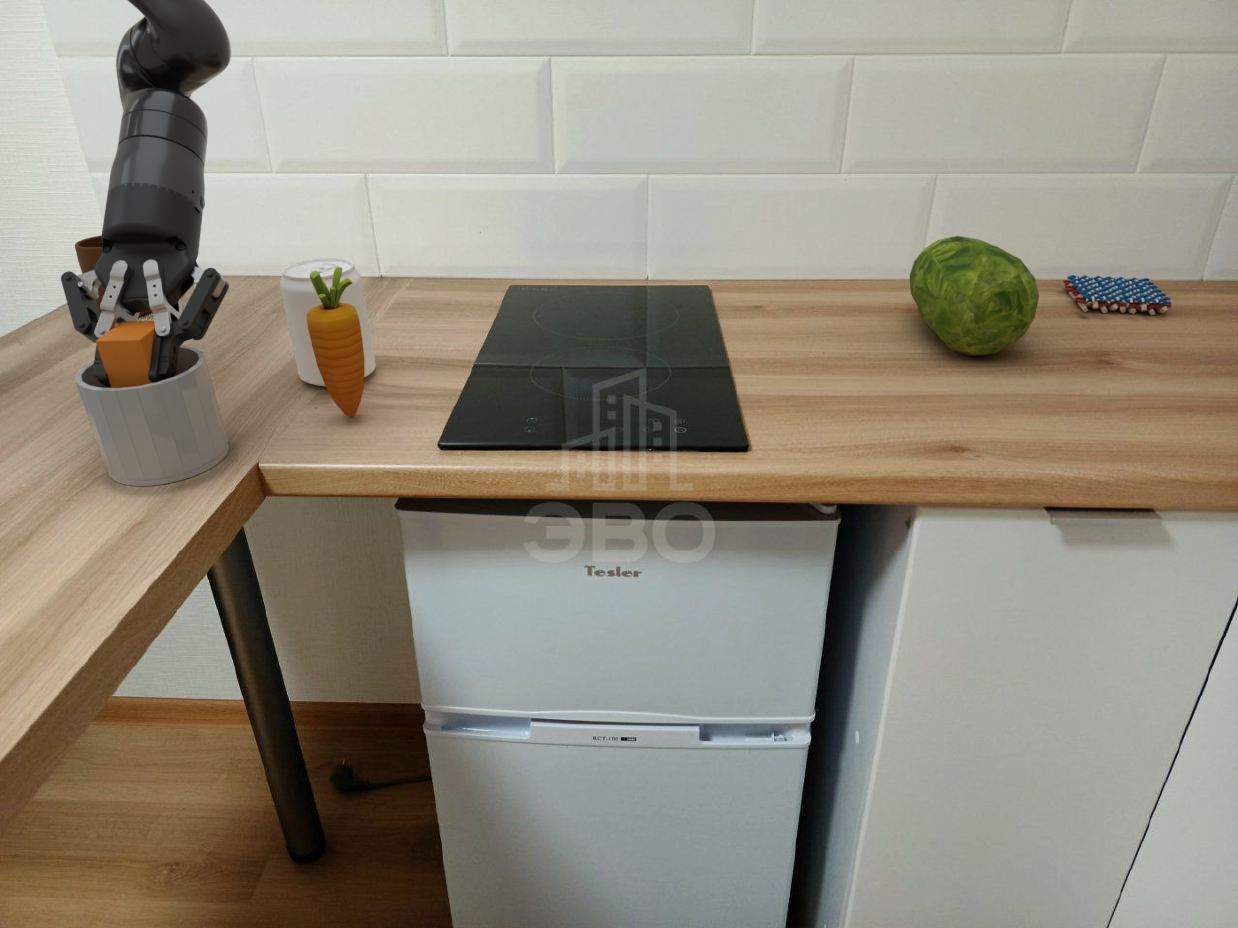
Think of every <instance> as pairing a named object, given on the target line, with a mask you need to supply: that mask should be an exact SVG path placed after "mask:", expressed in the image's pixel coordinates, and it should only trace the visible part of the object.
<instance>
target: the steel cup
mask: <svg viewBox="0 0 1238 928" xmlns="http://www.w3.org/2000/svg"><path fill="white" fill-rule="evenodd" d="M93 365H94V360H93V361H91V362H89V363H88V364H86V365H85V366H83V367H81V368H79V370H78V371H77V373H76V374H75V375H74V382H75V386H76V388H77V391H78V394H79V397H80V399H81V402H82V405H83V407H84V408H83V409H84V411H85V415H86V416H87V419H88V422H89V425H90V428H91V430H92V433H93V436H94V439H95V442H96V444H97V447H98V451H99V452H100V456H101V459H102V461H103V464H104V467H105V470H106V471H107V475H108V476H109V477H110V479H112V480H113V481H114V482H116V483H118V484H119V483H120V484H122V485H126V486H132V487H151V486H152V487H153V486H161V485H167V484H171V483H176V482H177V483H178V482H180V481H184V480H187V479H189V478H193V477H195V476H198V475H201V474H202V473H204V472H205V473H206V472H207V471H208V470H211V469H212V468H214V467H215V466H217V465H218V464H220V462H222V461H223V460H224V459H225V458H226V456H227V455H228V453H229V450H230V445H229V439H228V435H227V433H226V428H225V425H224V421H223V416H222V414H221V410H220V407H219V406H220V405H219V401H218V399H217V394H216V392H215V391H216V390H215V387H214V383H213V380H212V376H211V373H210V369H209V365H208V362H207V358H206V355H205V353H204V351H203V350H201V349H199V348H196V347H195V346H190V345H189V346H188V345H184V344H182V345H181V346H180V347H179V353H178V363H177V368H178V371H179V375H177V376H175V377H172V378H169V379H166V380H162V381H159V382H156V383H151V384H146V385H141V386H134V387H124V388H108V387H106V386H104V385H103V384H101V383H100V382H99V381H98V378H97V377H95V376H94V373H93Z"/></svg>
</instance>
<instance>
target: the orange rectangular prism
mask: <svg viewBox="0 0 1238 928" xmlns="http://www.w3.org/2000/svg"><path fill="white" fill-rule="evenodd" d="M153 338H157V334H156V331H155V323H154V320H137V321H129V322H121V323H120V324H118V325H117V326H115V327H114V328H113V329H111V330H110V331H109V332H107V333H106V334H104V335H103V336H102V337H100V338H99V339H98V340H96V343H95V345H96V344H97V347H98V350H99V353H100V356H101V359H102V362H103V365H104V368H105V371H106V373H107V376H108V379H109V382H110V386H111V388H124V387H134V386H141V385H146V384H151V383H152V382H151V381H150V380H149V378H148V371H149V370H150V361H151V353H152V345H153ZM177 375H179V371H178V368H177V372H176V376H177Z"/></svg>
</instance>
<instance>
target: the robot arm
mask: <svg viewBox="0 0 1238 928" xmlns="http://www.w3.org/2000/svg"><path fill="white" fill-rule="evenodd" d="M126 1H127V2H128V3H130V4H131V5H132V6H133V7H134V8H136V9H137V10H138V11H139V12H140V13H141V14H142V15H143V17H142V18H141V19H140V20H138V21H137V22H136V23H135V24H133V25H132V26H131V27H130V28H129V29H127V31H126V32H125V33H124V35H123V36H122V38H121V40H120V43H119V45H118V48H117V53H116V58H115V59H116V60H115V68H116V70H115V71H116V79H117V85H118V91H119V99H120V102H121V107H122V111H123V112H122V116H121V121H120V127H119V133H118V140H117V148H116V153H115V156H114V159H113V161H112V165H111V168H110V174H109V180H108V186H107V196H106V202H105V208H104V215H103V224H102V230H101V235H102V246H103V253H102V255H101V257H100V259H99V260H98V261H97V263H96V264H95V269H94V270H92V271H89V272H86V273H83V274H82V273H81V274H78V275H77V274H76V273H75V272H73V271H70V270H69V271H65V272H63V273H62V274H61V276H60V282H61V285H62V289H63V293H64V296H65V299H66V303H67V307H68V310H69V315H70V318H71V321H72V325H73V328H74V330H75V331H76V332H78V333H79V334H81V335H82V336H84V337H85V338H86V339H88V340H90V341H91V342H92V343H94V344H95V350H94V359H93V361H94V365H93V373H94V376H95V377H97V378H98V381H99V382H100V383H101V384H103V385H104V386H106V387H108V388H111V386H110V382H109V379H108V376H107V373H106V371H105V368H104V365H103V362H102V359H101V356H100V353H99V350H98V347H97V344H96V340H98V339H99V338H100V337H102V336H103V335H104V334H106V333H107V332H109V331H110V330H111V329H113V328H114V327H115V326H117V325H118V324H120V323H121V322H129V321H138V319H139V317H140V316H139V314H140V313H141V312H144V311H148V310H151V311H152V312H151V313H152V315H153V321H154V323H155V331H156V334H157V338H153V345H152V353H151V361H150V370H149V371H148V378H149V380H150V381H151V382H152V383H156V382H159V381H162V380H166V379H169V378H172V377H175V376H176V372H177V363H178V353H179V347H180V346H181V345H184V343H185V342H188V341H190V340H194V341H200V340H203V338H204V337H205V336H206V333H207V331H208V330H209V328H210V326H211V324H212V322H213V320H214V318H215V316H216V314H217V312H218V310H219V309H220V306H221V304H222V303H223V300H224V299H225V298H226V297H225V296H226V295H227V293H228V291H229V288H230V284H229V283H228V281H226V278H224V277H223V276H222V274H221V273H220V272H218V270H217V269H216V268H214V267H208V268H206V269H204V268H202V267H201V268H200V267H199V264H198V262H197V259H198V257H199V252H200V242H201V231H202V223H203V214H204V209H205V206H206V204H205V201H206V200H205V195H206V194H205V192H206V185H205V183H206V182H205V166H206V158H207V157H206V156H207V148H208V147H207V146H208V136H209V128H208V121H207V118H206V115H205V113H204V110H202V108H201V107H200V106H199V104H198V103H197V102H195V101H194V100H193V99H192V98H191V97H192V94H193V93H194V92H196V91H197V90H198V89H200V88H202V87H204V85H206V84H207V83H209V82H210V81H211V80H213V79H214V78H216V77H217V76H219V75H221V74H222V73H223V72H224V71H225V70H226V69H227V68H228V66H229V64H230V62H231V60H232V59H231V58H232V47H231V41H230V38H229V35H228V32H227V29H226V28H225V26H224V23H223V22H222V20H221V19H220V17H219V15H218V14H217V12H215V11H214V9H213V8H212V7H211V6H210V4H209V3H207V1H205V0H126ZM101 284H102V285H103V286H104V288H105V289H106V291H105V294H104V296H103V299H102V301H101V304H100V309H101V315H100V316H99V313H98V310H97V307H96V303H95V300H94V299H98V298H99V295H98V288H99V286H100V285H101ZM192 287H193V291H192V293H191V295H190V296H189V299H188V300H187V303H186V305H185V306H184V309H182V302H181V300H182V298H183V297H184V296H185V295H186V293H188V291H190V289H191V288H192ZM121 307H122V308H123V309H122V308H121Z"/></svg>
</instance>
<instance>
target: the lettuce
mask: <svg viewBox="0 0 1238 928" xmlns="http://www.w3.org/2000/svg"><path fill="white" fill-rule="evenodd" d="M1037 284H1038V283H1037V280H1036V277H1035V276H1034V274H1033V273H1032V272H1031V271H1030V270H1029V268H1028V267H1027V266H1026V265H1025V263H1024V262H1023V259H1021V258H1019V257H1018V256H1016V255H1013V254H1011V253H1009V252H1007V251H1006V250H1004V249H1002V248H1001V247H999V246H996V245H995V244H992V243H988V242H986V241H984V240H982V239H979V238H974V237H972V238H971V237H967V236H962V235H961V236H960V235H955V236H950V237H946V238H940V239H937V240H936V241H935V240H934V241H933V242H932V243H931V244H929V245H928V246H926V247H925V248H923V250H922V251H921V252H920V253H919V254H918V256H916V258H915V259H914V262H913V263H912V266H911V270H910V272H909V288H910V295H911V297H912V299H913V302H914V303H915V304H916V306H917V307H916V308H917V310H918V312H919V314H920V316H921V317H922V319H923V320H924V322H925V324H926V325H927V326H928V327H929V328H930V329H931V330H932V331H933V332H934V333H935V334H936V335H937V336H938V338H939V339H940V340H941V341H942V342H943V343H944V344H945V345H946V346H947V347H948V348H949V350H951V351H953V352H956V353H959V354H962V355H964V356H967V357H977V356H979V357H980V356H990V355H993V354H996V353H998V352H1001V351H1003V350H1006V349H1007V348H1010V347H1011V346H1013V345H1015V343H1017V342H1018V341H1019V340H1020V339H1021V338H1022V337H1024V335H1026V333H1027V332H1028V330H1029V329H1030V327H1031V325H1032V323H1033V321H1034V320H1035V318H1036V313H1037V309H1038V304H1039V299H1040V293H1039V289H1038V285H1037Z"/></svg>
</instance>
